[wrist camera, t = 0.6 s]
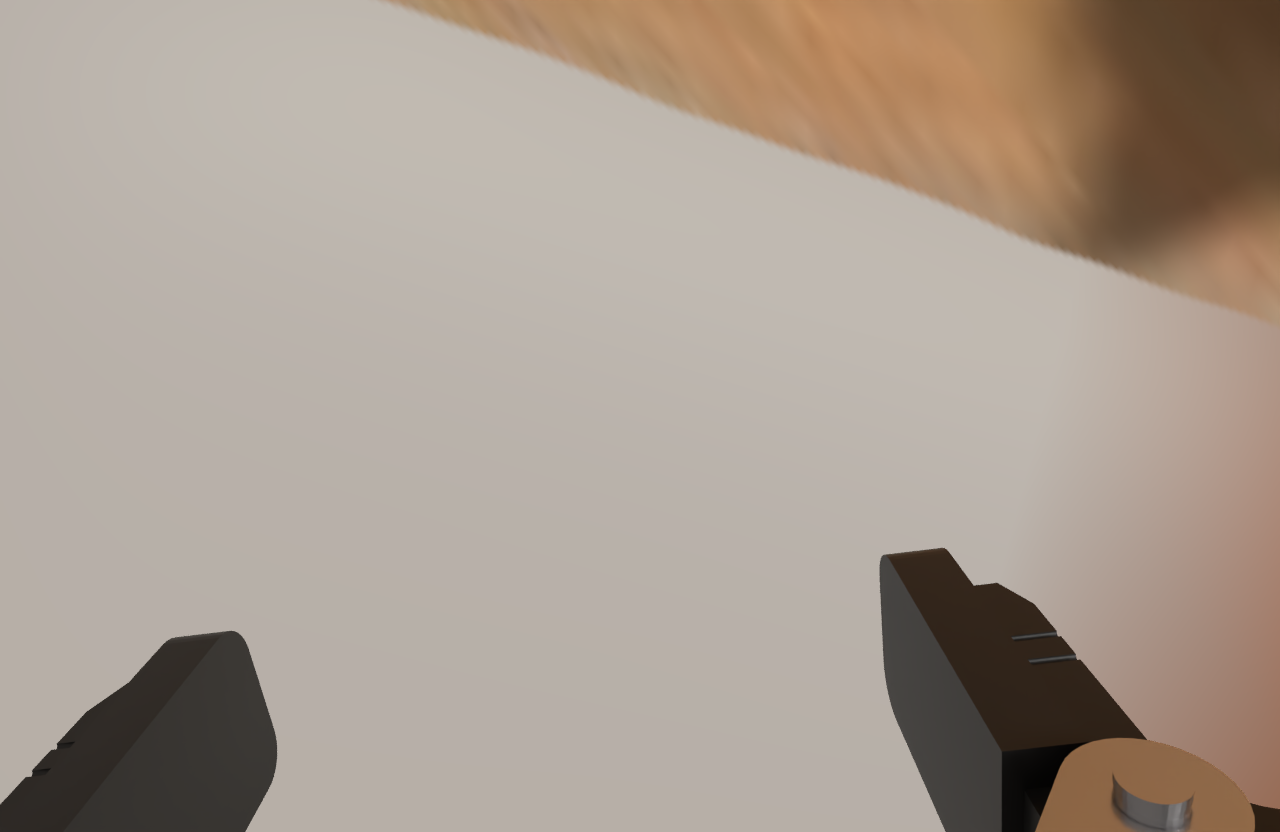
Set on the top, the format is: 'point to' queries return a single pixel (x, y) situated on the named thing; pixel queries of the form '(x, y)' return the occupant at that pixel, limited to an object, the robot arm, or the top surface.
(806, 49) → the top surface
